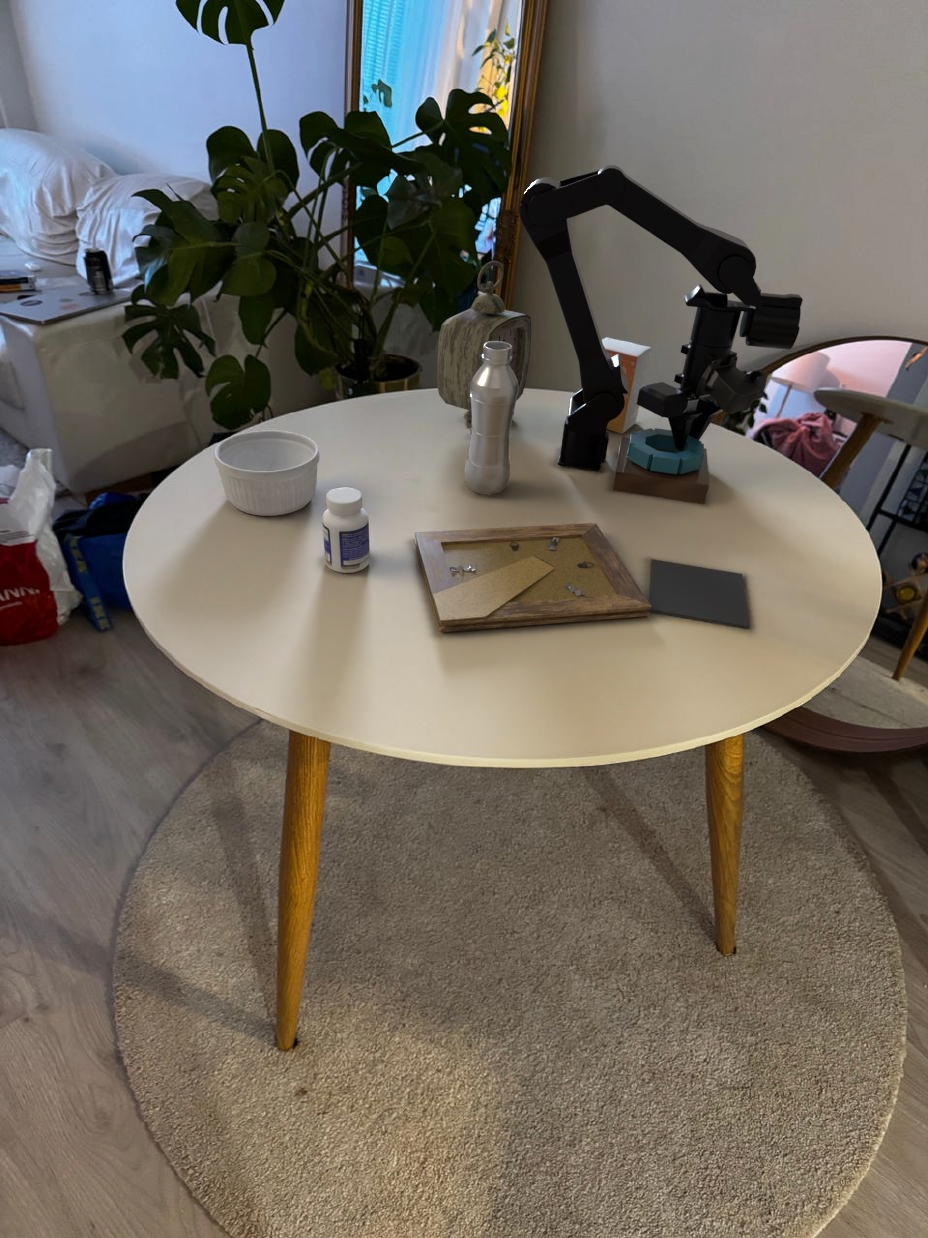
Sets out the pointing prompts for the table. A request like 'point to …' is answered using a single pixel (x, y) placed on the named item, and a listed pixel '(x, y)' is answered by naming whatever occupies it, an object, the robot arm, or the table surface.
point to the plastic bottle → (491, 420)
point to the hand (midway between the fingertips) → (685, 448)
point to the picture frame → (525, 577)
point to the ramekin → (268, 471)
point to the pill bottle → (345, 531)
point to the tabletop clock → (480, 344)
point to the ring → (664, 461)
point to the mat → (698, 593)
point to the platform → (660, 479)
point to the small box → (629, 378)
